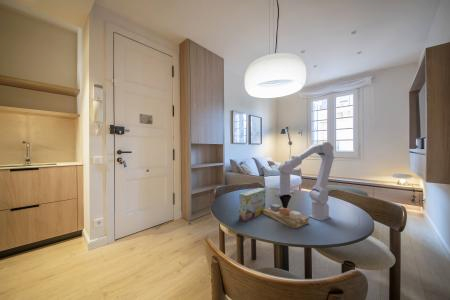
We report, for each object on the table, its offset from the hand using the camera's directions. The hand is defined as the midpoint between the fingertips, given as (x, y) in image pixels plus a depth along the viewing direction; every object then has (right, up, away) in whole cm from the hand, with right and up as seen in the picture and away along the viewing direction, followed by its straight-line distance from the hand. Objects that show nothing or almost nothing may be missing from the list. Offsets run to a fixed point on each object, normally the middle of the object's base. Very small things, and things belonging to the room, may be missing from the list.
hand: (284, 207), depth 101 cm
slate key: (-3, -5, +6) cm, 8 cm away
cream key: (+4, -5, -6) cm, 8 cm away
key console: (0, -6, 0) cm, 6 cm away
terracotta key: (0, -5, 0) cm, 5 cm away
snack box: (-18, -7, +5) cm, 20 cm away
